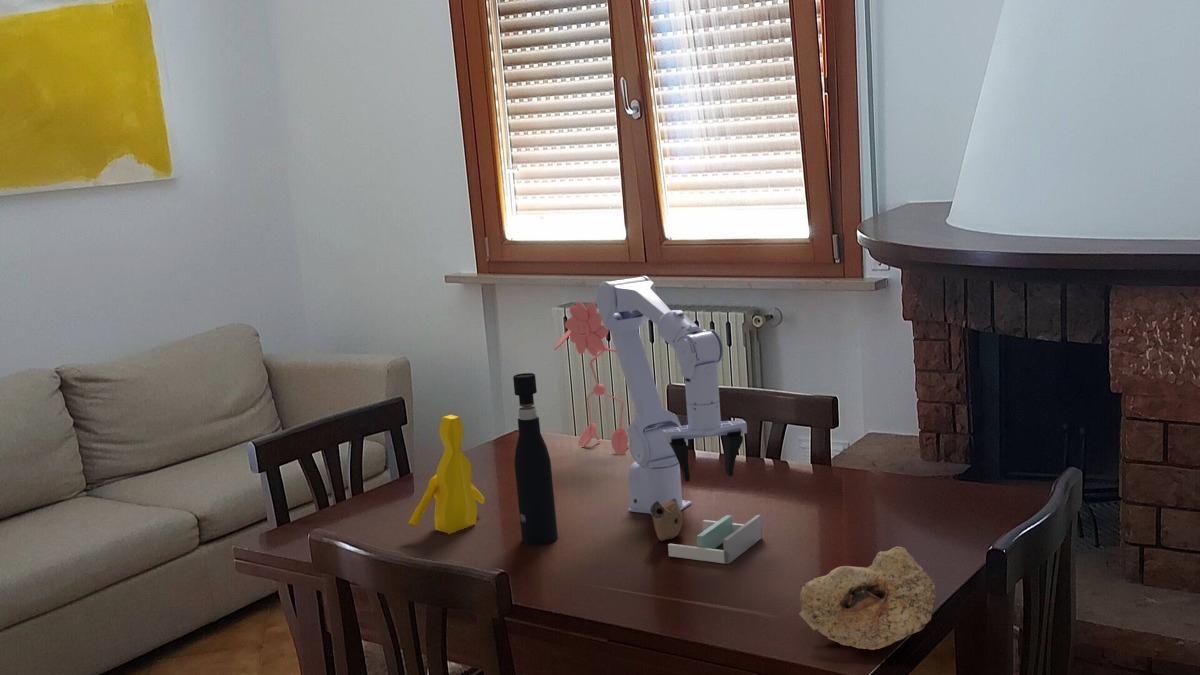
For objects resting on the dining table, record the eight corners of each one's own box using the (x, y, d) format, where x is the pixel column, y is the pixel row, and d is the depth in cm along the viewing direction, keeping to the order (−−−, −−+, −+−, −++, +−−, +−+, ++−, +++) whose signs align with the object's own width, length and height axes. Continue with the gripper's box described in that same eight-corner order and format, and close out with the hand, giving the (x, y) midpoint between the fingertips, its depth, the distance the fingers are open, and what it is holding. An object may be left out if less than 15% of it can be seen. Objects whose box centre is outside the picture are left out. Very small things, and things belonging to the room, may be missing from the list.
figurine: (579, 441, 275) (566, 294, 269) (659, 456, 256) (647, 298, 250) (530, 457, 264) (515, 304, 259) (609, 473, 246) (595, 309, 240)
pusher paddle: (698, 556, 192) (696, 535, 191) (728, 534, 201) (726, 514, 201) (703, 556, 191) (702, 536, 191) (733, 534, 201) (732, 515, 200)
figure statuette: (479, 513, 226) (467, 402, 223) (505, 519, 221) (493, 406, 217) (404, 539, 214) (390, 423, 210) (429, 547, 208) (416, 428, 205)
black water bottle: (563, 534, 209) (547, 371, 204) (550, 546, 203) (534, 378, 198) (530, 533, 211) (514, 371, 207) (516, 545, 205) (499, 379, 201)
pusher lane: (668, 556, 194) (667, 533, 193) (705, 530, 205) (703, 508, 204) (728, 564, 188) (726, 540, 187) (762, 537, 199) (761, 515, 198)
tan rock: (854, 697, 153) (843, 657, 149) (795, 632, 165) (784, 594, 161) (965, 630, 157) (957, 589, 153) (899, 571, 169) (891, 532, 165)
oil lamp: (665, 550, 197) (662, 505, 195) (644, 548, 199) (641, 503, 197) (688, 533, 204) (685, 489, 203) (668, 531, 206) (664, 487, 205)
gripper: (666, 411, 196) (672, 488, 198) (750, 401, 198) (754, 478, 200) (658, 402, 203) (663, 477, 205) (738, 393, 205) (743, 467, 207)
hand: (708, 477), depth 203 cm, fingers open, 7 cm apart
